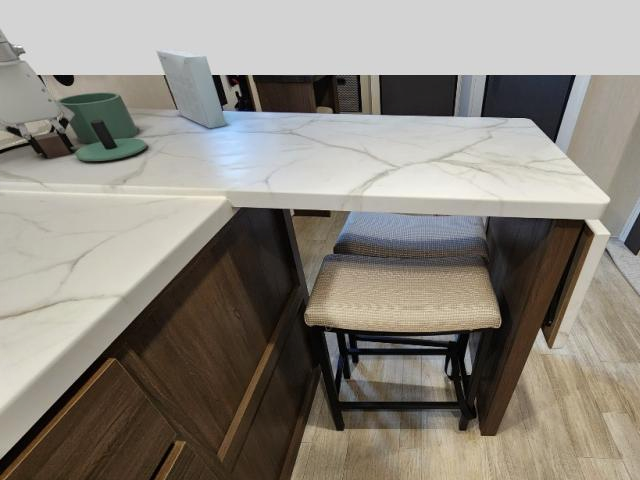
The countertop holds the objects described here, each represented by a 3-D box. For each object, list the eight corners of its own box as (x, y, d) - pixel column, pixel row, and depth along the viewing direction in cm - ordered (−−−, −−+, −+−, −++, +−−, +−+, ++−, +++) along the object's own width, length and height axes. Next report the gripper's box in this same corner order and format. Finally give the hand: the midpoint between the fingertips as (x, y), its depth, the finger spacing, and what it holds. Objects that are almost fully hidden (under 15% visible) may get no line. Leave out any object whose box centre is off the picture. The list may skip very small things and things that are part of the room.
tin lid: (86, 169, 69) (65, 135, 65) (71, 153, 76) (50, 121, 71) (156, 152, 76) (141, 121, 72) (136, 139, 83) (121, 109, 79)
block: (49, 158, 73) (36, 139, 70) (45, 154, 75) (32, 135, 72) (71, 154, 75) (59, 135, 73) (67, 150, 77) (55, 131, 75)
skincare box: (229, 125, 92) (206, 55, 81) (210, 129, 89) (184, 57, 78) (197, 111, 103) (174, 48, 92) (179, 115, 100) (152, 49, 89)
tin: (87, 147, 79) (62, 107, 73) (74, 136, 85) (50, 98, 79) (144, 135, 85) (126, 97, 80) (129, 125, 92) (110, 90, 86)
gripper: (41, 49, 69) (96, 141, 81) (-74, 57, 60) (7, 159, 72) (49, 52, 65) (105, 148, 78) (-73, 61, 56) (12, 168, 69)
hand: (57, 153), depth 75 cm, fingers closed on block, 4 cm apart
